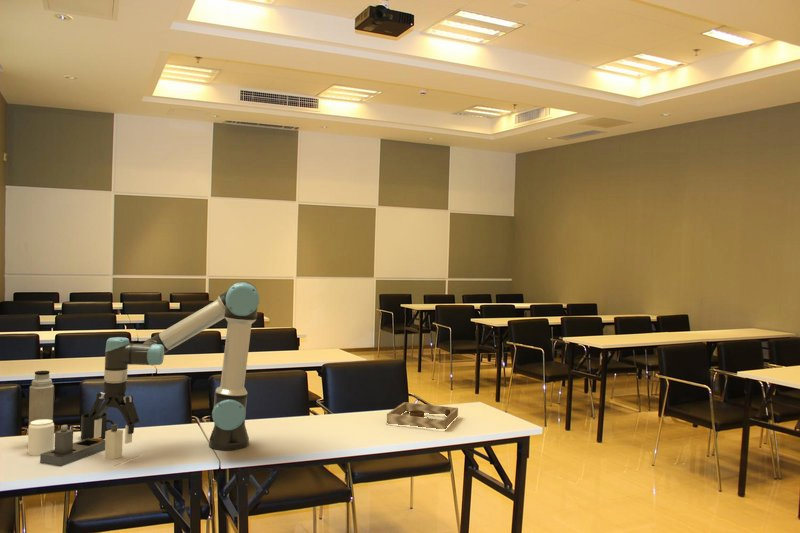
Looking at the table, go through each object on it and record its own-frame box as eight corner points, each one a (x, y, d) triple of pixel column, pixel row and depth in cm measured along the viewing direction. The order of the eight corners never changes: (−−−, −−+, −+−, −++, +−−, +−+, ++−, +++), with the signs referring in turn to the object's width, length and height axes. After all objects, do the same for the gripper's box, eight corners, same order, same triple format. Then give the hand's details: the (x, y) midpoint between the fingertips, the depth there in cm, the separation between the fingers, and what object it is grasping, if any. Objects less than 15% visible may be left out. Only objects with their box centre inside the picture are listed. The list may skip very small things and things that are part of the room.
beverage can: (34, 451, 234) (35, 418, 234) (57, 451, 235) (58, 419, 235) (23, 458, 226) (24, 424, 226) (47, 458, 227) (48, 424, 227)
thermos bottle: (41, 440, 247) (43, 368, 247) (57, 443, 245) (59, 370, 244) (23, 446, 240) (25, 371, 239) (39, 448, 237) (41, 373, 237)
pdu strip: (89, 448, 240) (89, 435, 240) (108, 451, 237) (109, 438, 237) (40, 465, 219) (40, 452, 219) (60, 469, 216) (60, 455, 216)
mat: (138, 456, 232) (138, 455, 232) (114, 466, 221) (114, 465, 221) (112, 452, 236) (112, 451, 236) (87, 462, 224) (87, 461, 224)
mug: (111, 440, 251) (112, 417, 251) (78, 441, 248) (78, 418, 248) (115, 433, 260) (116, 411, 260) (83, 434, 257) (84, 412, 257)
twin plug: (72, 458, 224) (73, 424, 224) (63, 462, 221) (64, 427, 220) (63, 457, 226) (64, 423, 225) (54, 460, 222) (55, 426, 222)
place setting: (412, 416, 308) (412, 404, 308) (451, 421, 300) (451, 409, 300) (397, 424, 292) (398, 411, 292) (439, 430, 284) (439, 417, 284)
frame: (457, 418, 305) (458, 407, 305) (444, 431, 280) (444, 420, 280) (403, 412, 313) (404, 402, 313) (386, 424, 288) (387, 413, 288)
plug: (122, 457, 229) (122, 424, 229) (113, 460, 226) (114, 427, 225) (113, 456, 231) (113, 423, 230) (104, 459, 227) (105, 425, 227)
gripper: (151, 383, 227) (148, 442, 228) (95, 375, 235) (92, 432, 235) (136, 386, 220) (133, 447, 220) (79, 378, 228) (76, 437, 228)
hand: (112, 440), depth 228 cm, fingers open, 13 cm apart
